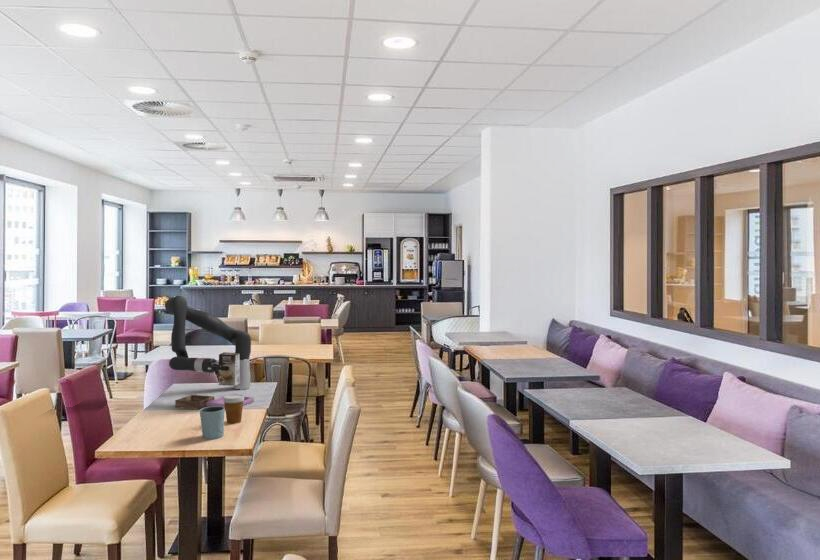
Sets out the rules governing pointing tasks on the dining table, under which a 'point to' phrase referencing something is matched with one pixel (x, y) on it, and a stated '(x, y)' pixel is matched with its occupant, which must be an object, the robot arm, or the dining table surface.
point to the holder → (193, 401)
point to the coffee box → (234, 368)
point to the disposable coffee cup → (233, 408)
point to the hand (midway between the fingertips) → (232, 367)
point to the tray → (221, 403)
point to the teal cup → (212, 422)
